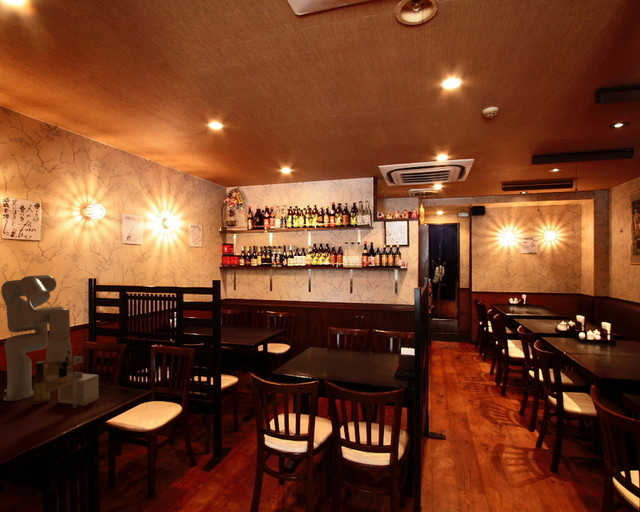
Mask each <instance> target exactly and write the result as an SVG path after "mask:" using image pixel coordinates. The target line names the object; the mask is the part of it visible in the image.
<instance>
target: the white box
mask: <svg viewBox="0 0 640 512" xmlns="http://www.w3.org/2000/svg"><path fill="white" fill-rule="evenodd" d="M99 377H100V376H99V374H91V373H83V378H81V379H78V380H76V381H73V383H72V384H69V385H66V386H64V387H61V388H58V389H57V390H58V391H57V394H58V395H57V397H58V398H57V402H58V403H61V404H68V403H69V404H70V405H72V409H77V408H78V406H87V405H88V403H89V404H90V402H91V403H93V402H96V401H98V400H99V398H100V397H99ZM97 399H98V400H97ZM77 404H78V405H77Z"/></svg>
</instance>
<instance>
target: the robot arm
mask: <svg viewBox="0 0 640 512" xmlns="http://www.w3.org/2000/svg"><path fill="white" fill-rule="evenodd" d="M56 288H57V281H56V279H55V278H54V277H53V275H49V274H47V275H43V274H42V275H27V276H24V277H23V278H21V279H13V280H7V281H5V282H3V284H2V285H1V289H0V290H1V291H0V293H1V296H2V299H3V301H4V303H5V307H6V318H7V319H6V320H7V321H6V322H7V329H8V330H9V332H11V333H21V334H16V335H12V336H10V337H8V338H6V340H5V342H4V349H5V353H6V363H7V364H6V367H7V369H6V375H7V378H6V379H7V381H6V382H7V388H5V389H4V391H3V392H4V393H6V395H4V396H3V398H2V399H3V401H4V402H15V401H20V400H25V399H28V398H31V397H32V396H33V397H34V389H33V385H32V384H33V379H32V377H33V375H32V374H33V371H32V367H33V366H32V365H33V364H32V359H31V357H30V356H28V355H27V353H30V352H36V351H41V350H43V349H46V352H45V359H46V360H45V361H46V362H47V363H48V362H58V363H60V368H61V369H59V378H62V377H65V376H67V367H68V365H69V364H70V363H72V359H71V358H72V357H73V350H72V349H73V348H72V342H71V330H70V329H71V324H70V323H71V321H70V320H71V319H70V318H71V314H70V311H71V310H70V309H69V308H67V307H63V306H52V307H50V306H49V307H40V306H42V305H44V304H45V303H47V302H48V301H49V299H50V298H51V292H53V291H55V289H56ZM23 297H25V298H26V300H25V298H23ZM48 330H49V331H48ZM30 331H34V332H30ZM23 332H29V333H23ZM22 333H23V334H22ZM64 362H65V363H64ZM63 363H64V364H63Z"/></svg>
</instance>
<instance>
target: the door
mask: <svg viewBox="0 0 640 512" xmlns="http://www.w3.org/2000/svg"><path fill="white" fill-rule="evenodd" d="M71 359H72V363H70V364H69V365H68V367H67V376H65V377H62V378H59V369H61V368H60V363H58V362H48V361H47V362H46V363H44V391H46V392H50V393H51V392H52V391H56V390H58V388H61V387H64V386H66V385H69V384H72V383H73V381H76V380H78V379H81V378H83V374H84V373H83V372H79V371H78V372H77V371H74V368H73V366H74V365H77V364H78V365H79V364H81V363H83V362H84V361H83V360H84V358H83V356H72V358H71ZM64 363H65V362H64ZM64 363H63V364H64Z"/></svg>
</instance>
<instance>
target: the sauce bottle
mask: <svg viewBox="0 0 640 512" xmlns="http://www.w3.org/2000/svg"><path fill="white" fill-rule="evenodd" d="M44 363H47V360H42V361H36V362H35V369H36V372H35V374H34V375H33V382H32V384H33V385H32V388H33V390H34V395H33V402H34V403H33V404H35V405H43V404H46V403H49V402H50V399H51V391H50V392H46V391H44Z"/></svg>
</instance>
